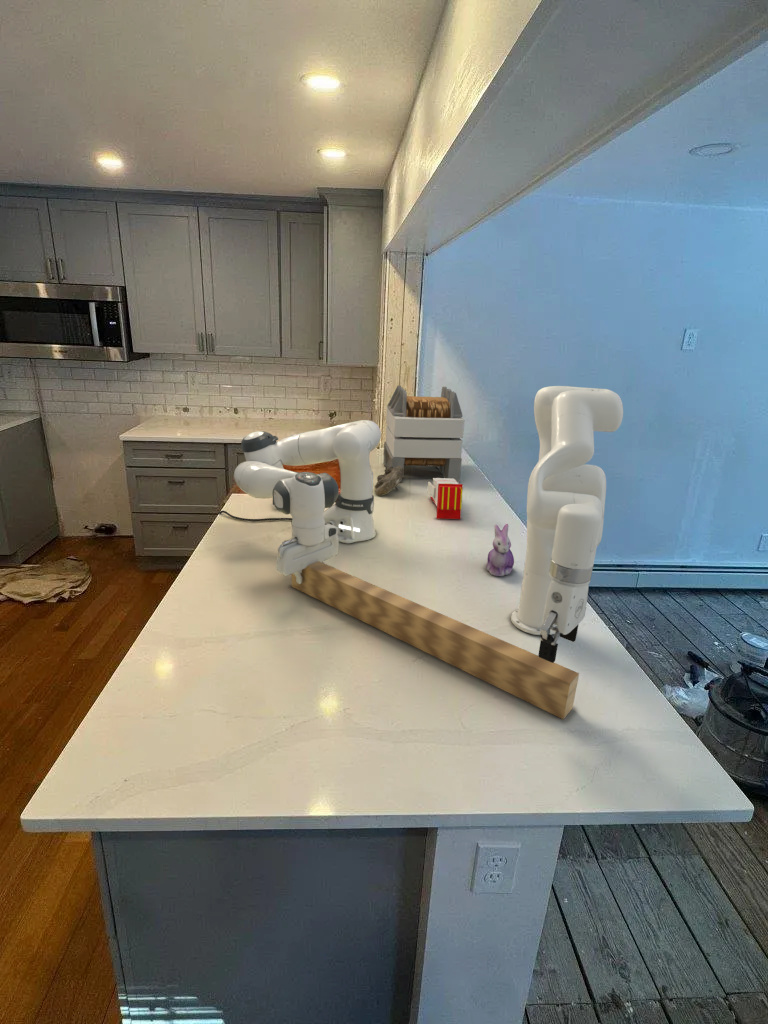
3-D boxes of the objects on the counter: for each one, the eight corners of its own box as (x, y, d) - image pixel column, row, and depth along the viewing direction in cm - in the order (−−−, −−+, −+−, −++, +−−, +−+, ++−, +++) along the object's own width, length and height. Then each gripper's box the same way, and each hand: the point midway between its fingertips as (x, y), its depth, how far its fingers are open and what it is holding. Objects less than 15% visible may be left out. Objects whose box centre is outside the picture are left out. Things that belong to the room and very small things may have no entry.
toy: (455, 474, 240) (467, 485, 211) (453, 505, 243) (464, 520, 214) (426, 473, 240) (434, 484, 211) (425, 504, 243) (432, 519, 213)
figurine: (497, 580, 168) (503, 533, 163) (477, 566, 177) (482, 521, 172) (522, 574, 173) (529, 528, 167) (501, 561, 181) (506, 517, 176)
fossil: (373, 472, 257) (399, 454, 252) (386, 488, 260) (412, 470, 255) (367, 491, 238) (396, 472, 233) (381, 508, 240) (410, 490, 235)
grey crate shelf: (382, 463, 289) (386, 382, 275) (445, 464, 293) (451, 384, 279) (390, 482, 257) (394, 392, 243) (460, 483, 261) (468, 394, 247)
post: (291, 586, 159) (291, 559, 156) (303, 581, 162) (303, 554, 160) (563, 719, 112) (570, 683, 109) (572, 708, 115) (579, 673, 112)
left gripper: (286, 547, 143) (287, 595, 148) (342, 526, 158) (341, 571, 163) (270, 540, 147) (271, 587, 152) (326, 520, 162) (326, 564, 166)
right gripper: (571, 592, 97) (556, 676, 103) (607, 562, 110) (592, 638, 116) (531, 578, 102) (519, 659, 107) (569, 551, 114) (557, 625, 120)
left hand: (308, 579), depth 157 cm, fingers closed on post, 4 cm apart
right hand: (557, 648), depth 111 cm, fingers open, 9 cm apart
